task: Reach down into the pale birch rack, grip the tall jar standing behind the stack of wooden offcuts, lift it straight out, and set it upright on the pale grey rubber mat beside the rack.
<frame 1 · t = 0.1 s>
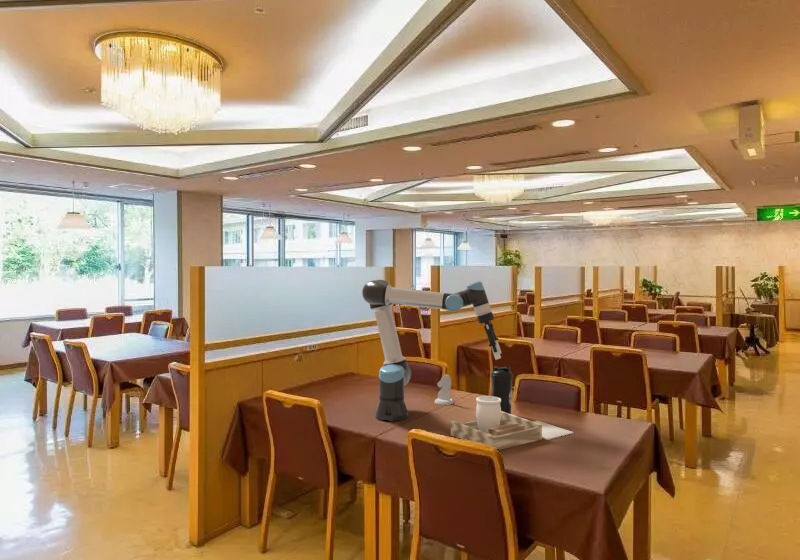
hand: (498, 356, 248), 28 cm above the table, tool tilted 20°, fingers open, 13 cm apart
mat: (542, 430, 225), on the table
water bottle: (501, 415, 248), on the table
rack: (495, 437, 217), on the table
chess piece: (444, 403, 271), on the table
jar: (488, 434, 220), resting in rack
offcut stack: (506, 442, 212), resting in rack
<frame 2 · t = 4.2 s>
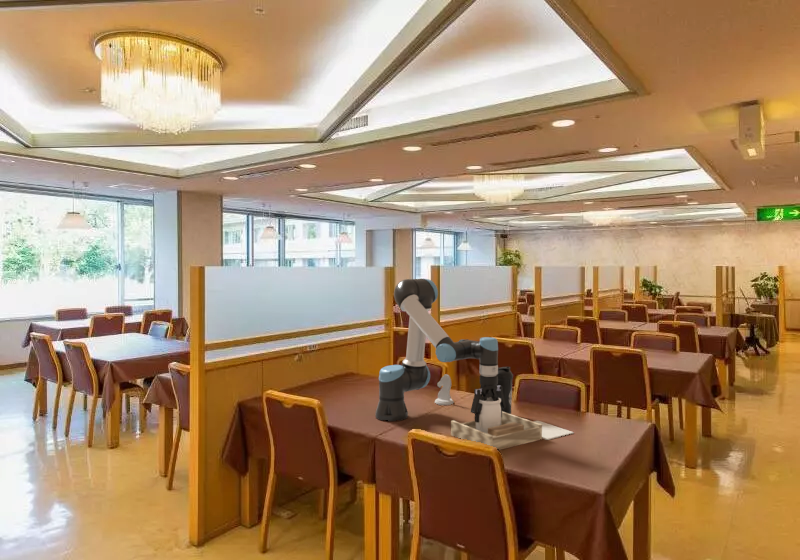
hand: (488, 427, 220), 3 cm above the table, tool pointing down, fingers closed on jar, 10 cm apart
jar: (488, 434, 220), resting in rack, touching gripper
everything else where it was.
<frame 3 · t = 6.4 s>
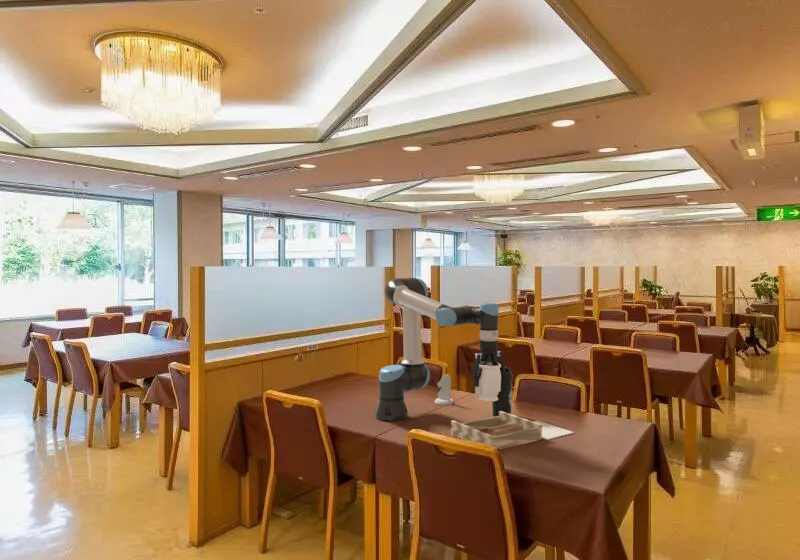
hand: (488, 392, 220), 17 cm above the table, tool pointing down, fingers closed on jar, 10 cm apart
jar: (488, 399, 220), point 14 cm above the table, touching gripper
everything else where it was.
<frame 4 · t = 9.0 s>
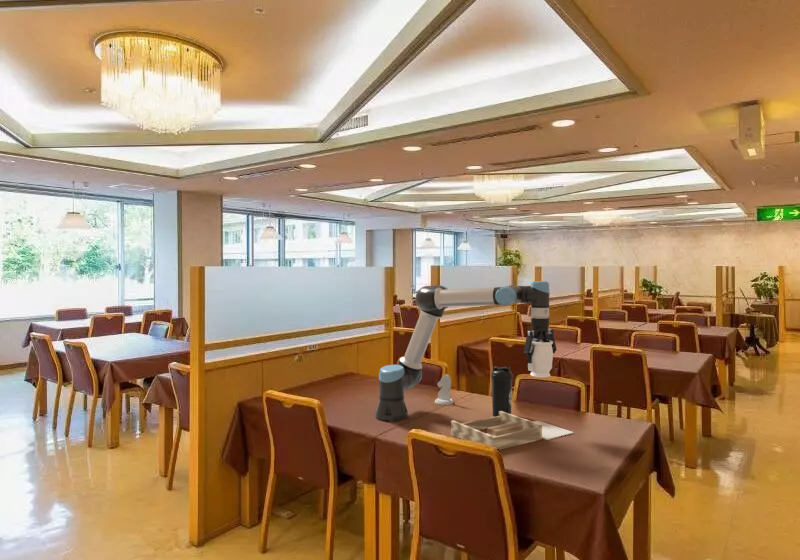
hand: (540, 369, 224), 26 cm above the table, tool pointing down, fingers closed on jar, 10 cm apart
jar: (540, 376, 224), point 23 cm above the table, touching gripper
everything else where it was.
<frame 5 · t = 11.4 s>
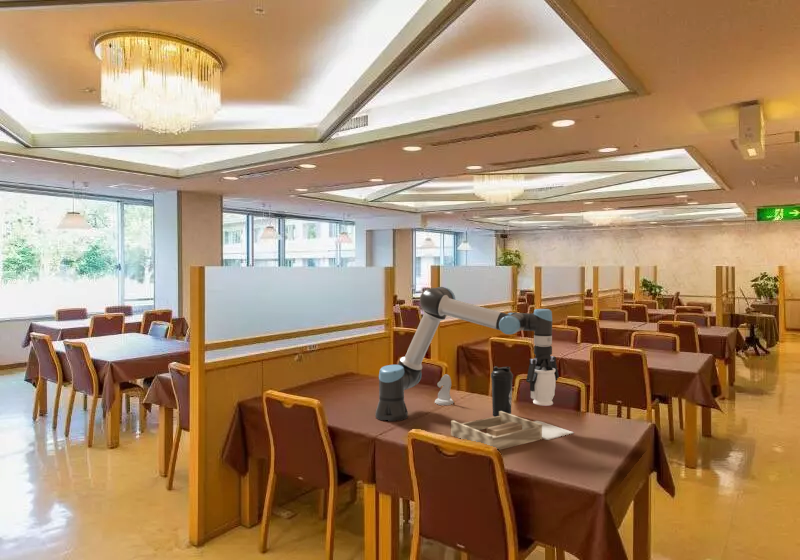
hand: (542, 396, 225), 14 cm above the table, tool pointing down, fingers closed on jar, 10 cm apart
jar: (542, 403, 225), point 11 cm above the table, touching gripper
everything else where it was.
when the fingers open (5 cm above the table, at t = 13.8 s): jar drops 1 cm, resting on mat.
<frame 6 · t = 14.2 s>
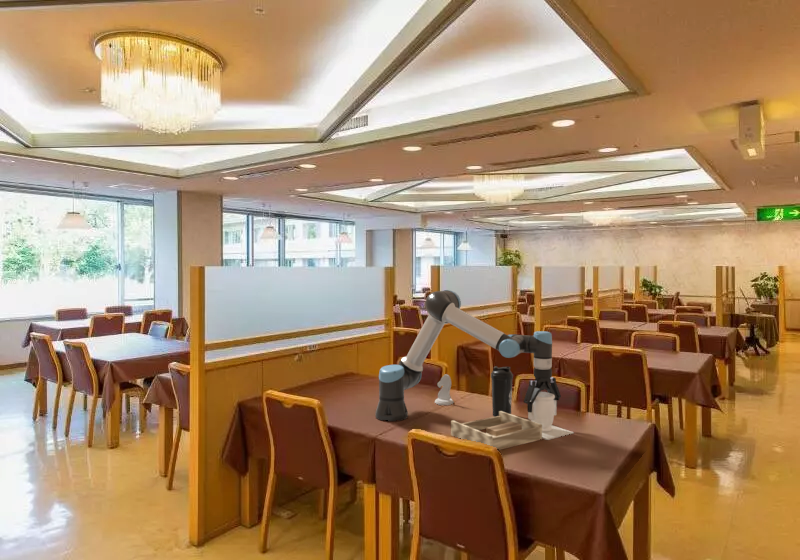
hand: (542, 417, 225), 6 cm above the table, tool pointing down, fingers open, 13 cm apart
jar: (541, 429, 225), resting on mat
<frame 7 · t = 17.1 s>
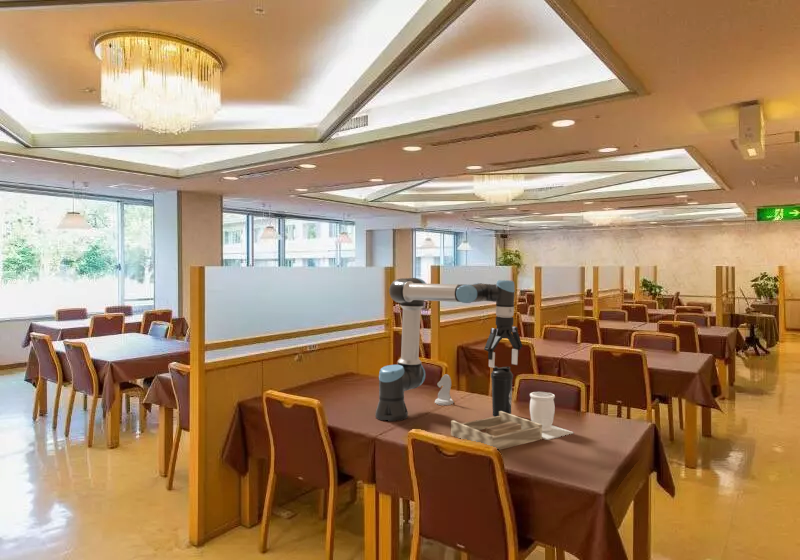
hand: (503, 365, 225), 28 cm above the table, tool pointing down, fingers open, 13 cm apart
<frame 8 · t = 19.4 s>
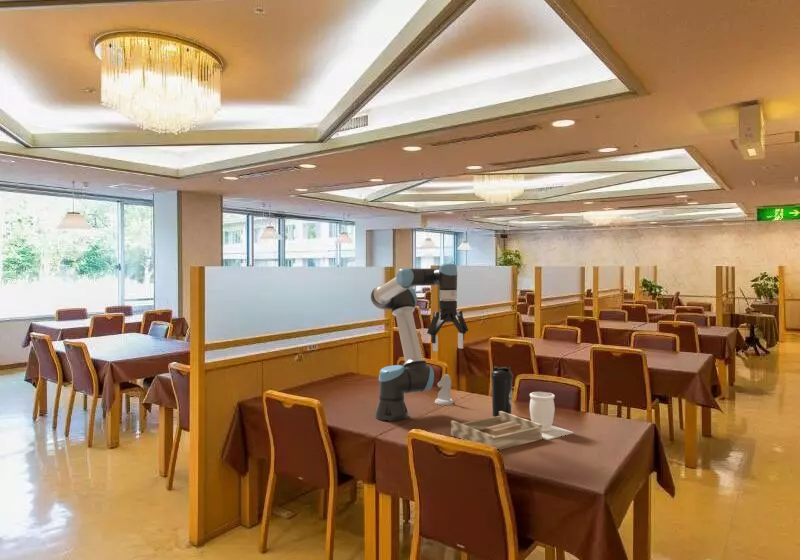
hand: (448, 349, 225), 35 cm above the table, tool pointing down, fingers open, 13 cm apart
at the end: jar inside the target area on the mat (0.2 cm from its centre), point 0.3 cm above the mat's base; jar tilted 0°; the gripper is holding nothing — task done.
